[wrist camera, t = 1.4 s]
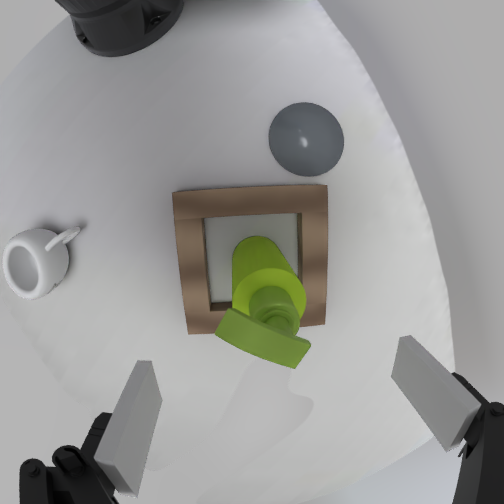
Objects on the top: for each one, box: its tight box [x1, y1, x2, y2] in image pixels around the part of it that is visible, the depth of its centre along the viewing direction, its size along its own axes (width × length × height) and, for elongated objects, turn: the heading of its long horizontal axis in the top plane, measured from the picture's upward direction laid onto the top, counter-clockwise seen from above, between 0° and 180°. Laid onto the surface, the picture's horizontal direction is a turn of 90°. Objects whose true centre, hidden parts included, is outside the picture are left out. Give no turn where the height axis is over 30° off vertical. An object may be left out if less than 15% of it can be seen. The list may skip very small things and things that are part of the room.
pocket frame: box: [172, 185, 328, 334], centre depth 34 cm, size 17×17×2 cm
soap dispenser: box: [215, 236, 311, 369], centre depth 26 cm, size 6×7×20 cm
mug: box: [2, 226, 80, 300], centre depth 30 cm, size 12×8×8 cm
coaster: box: [269, 102, 344, 176], centre depth 32 cm, size 9×9×1 cm
